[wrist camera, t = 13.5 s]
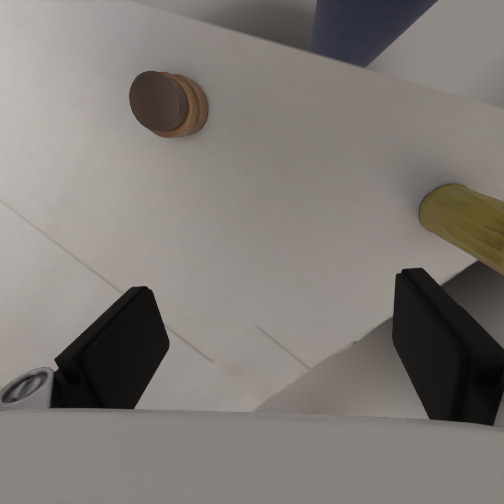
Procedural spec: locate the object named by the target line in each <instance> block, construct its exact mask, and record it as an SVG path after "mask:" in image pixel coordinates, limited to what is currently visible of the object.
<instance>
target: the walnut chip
mask: <svg viewBox="0 0 504 504" xmlns="http://www.w3.org/2000/svg"><path fill="white" fill-rule="evenodd" d="M129 100H130V106H131V109H132V112H133V114H134V116H135V117H136V119H137V120H138V121H139V122H140V123H141V124H142V125H143V126H144V127H146V128H148V129H150V130H153V131H174V130H176V129H178V128H179V127H181V126H182V125H183V123H184V122H185V120H186V118H187V115H188V99H187V96H186V93H185V91H184V89H183V88H182V87H181V85H180V84H179V83H178V82H177V81H175V80H174V79H172V78H170V77H168V76H166V75H164V74H161V73H159V72H156V71H146V72H143V73H141V74H140V75H138V76H137V77H136V78H135V80H134V81H133V83H132V85H131V88H130V94H129Z"/></svg>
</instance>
